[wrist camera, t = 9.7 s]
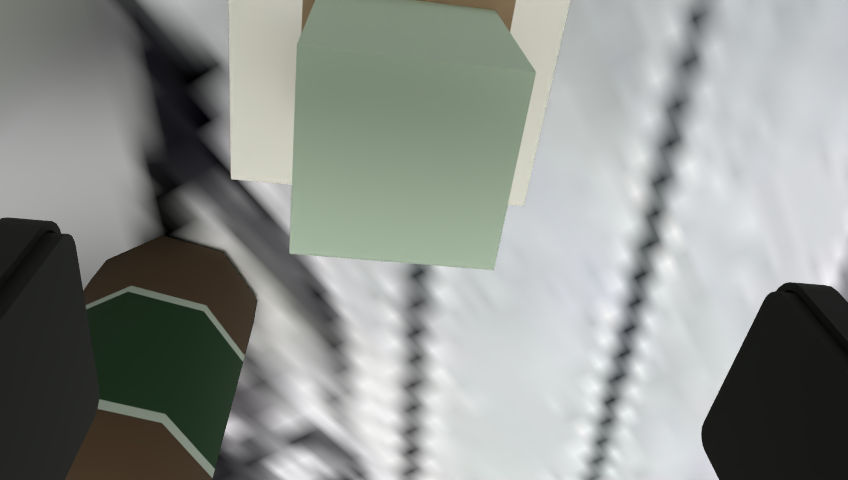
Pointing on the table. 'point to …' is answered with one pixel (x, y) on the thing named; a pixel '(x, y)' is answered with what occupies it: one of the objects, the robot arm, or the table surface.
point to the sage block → (405, 132)
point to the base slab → (276, 75)
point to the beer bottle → (163, 361)
